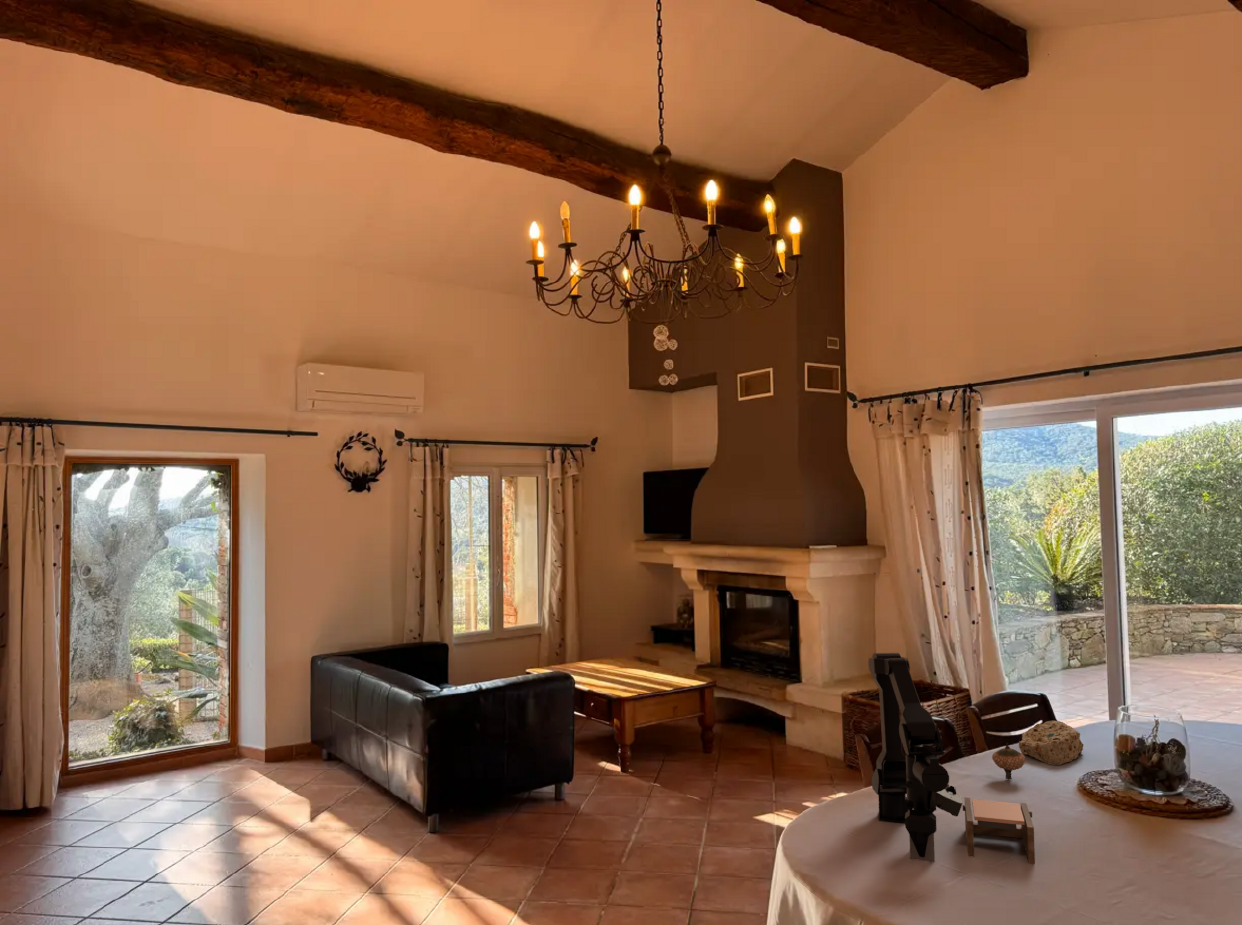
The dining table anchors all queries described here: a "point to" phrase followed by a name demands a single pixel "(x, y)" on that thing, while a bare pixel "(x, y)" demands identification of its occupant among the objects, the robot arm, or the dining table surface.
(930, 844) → the taupe matte cube
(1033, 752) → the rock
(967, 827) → the trapdoor frame
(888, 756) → the robot arm
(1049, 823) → the dining table surface
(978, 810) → the trapdoor
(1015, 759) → the acorn
